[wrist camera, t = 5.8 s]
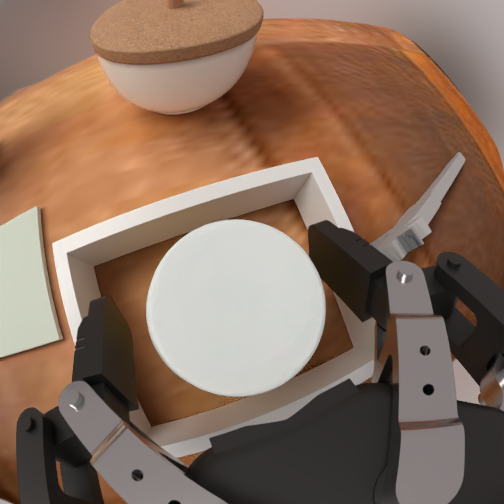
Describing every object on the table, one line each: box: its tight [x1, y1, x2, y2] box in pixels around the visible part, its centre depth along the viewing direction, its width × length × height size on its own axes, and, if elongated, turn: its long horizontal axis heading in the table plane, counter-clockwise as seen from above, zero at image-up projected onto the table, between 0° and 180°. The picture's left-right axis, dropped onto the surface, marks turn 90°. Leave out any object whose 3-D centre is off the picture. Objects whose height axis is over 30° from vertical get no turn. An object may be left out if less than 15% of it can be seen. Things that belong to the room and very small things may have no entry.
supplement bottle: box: [146, 219, 326, 397], centre depth 10 cm, size 5×5×10 cm
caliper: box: [369, 152, 465, 262], centre depth 16 cm, size 20×1×6 cm, turn 127°
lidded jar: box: [90, 0, 263, 115], centre depth 14 cm, size 11×11×9 cm
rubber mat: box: [0, 206, 63, 358], centre depth 13 cm, size 9×9×1 cm
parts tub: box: [52, 157, 375, 458], centre depth 13 cm, size 12×15×4 cm
